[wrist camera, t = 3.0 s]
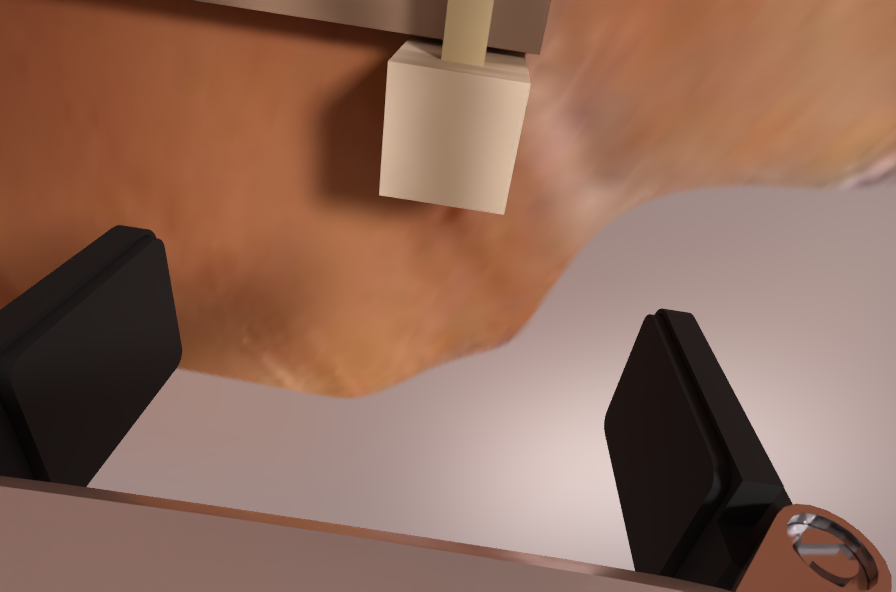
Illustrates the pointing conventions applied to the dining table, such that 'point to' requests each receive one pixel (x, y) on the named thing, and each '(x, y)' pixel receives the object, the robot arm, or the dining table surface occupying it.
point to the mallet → (454, 115)
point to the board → (417, 17)
